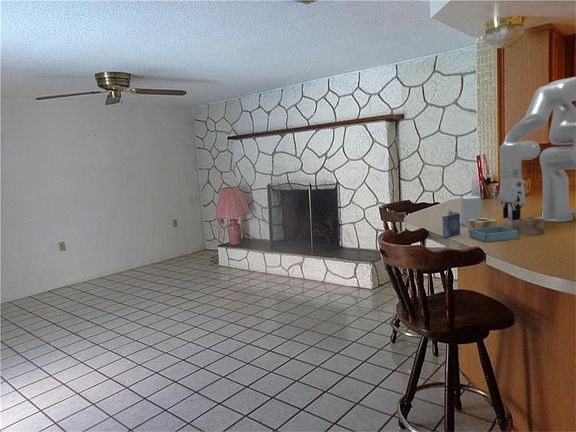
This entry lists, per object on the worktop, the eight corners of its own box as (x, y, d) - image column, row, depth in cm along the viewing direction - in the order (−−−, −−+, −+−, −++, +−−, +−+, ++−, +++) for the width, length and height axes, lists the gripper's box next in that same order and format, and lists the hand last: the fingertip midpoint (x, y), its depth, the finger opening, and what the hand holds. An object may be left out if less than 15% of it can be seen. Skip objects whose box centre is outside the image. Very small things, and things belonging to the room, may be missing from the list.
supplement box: (482, 225, 186) (481, 197, 184) (464, 226, 187) (463, 198, 185) (478, 222, 193) (477, 195, 191) (461, 223, 194) (460, 196, 192)
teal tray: (501, 233, 167) (500, 226, 166) (519, 238, 156) (519, 230, 155) (469, 237, 166) (469, 229, 165) (485, 242, 154) (485, 234, 154)
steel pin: (512, 229, 172) (512, 200, 170) (516, 230, 170) (516, 201, 168) (506, 230, 172) (506, 201, 170) (510, 231, 169) (510, 201, 168)
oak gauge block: (485, 229, 177) (485, 217, 176) (497, 232, 169) (496, 220, 168) (467, 231, 176) (467, 219, 176) (478, 234, 168) (478, 222, 168)
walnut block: (533, 231, 165) (533, 216, 164) (544, 234, 159) (544, 218, 158) (519, 233, 165) (518, 218, 164) (529, 235, 159) (529, 220, 158)
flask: (446, 238, 167) (445, 211, 166) (440, 237, 170) (439, 211, 169) (461, 234, 172) (460, 208, 171) (455, 233, 175) (454, 208, 173)
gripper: (534, 173, 159) (534, 220, 162) (506, 172, 176) (507, 215, 179) (515, 175, 159) (516, 222, 161) (489, 174, 176) (490, 217, 178)
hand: (511, 218), depth 170 cm, fingers open, 5 cm apart
